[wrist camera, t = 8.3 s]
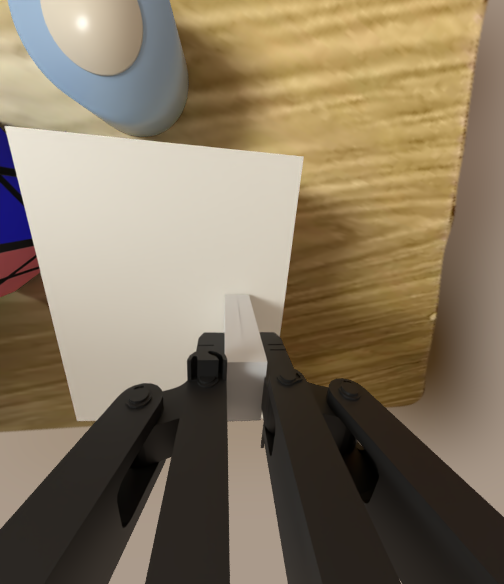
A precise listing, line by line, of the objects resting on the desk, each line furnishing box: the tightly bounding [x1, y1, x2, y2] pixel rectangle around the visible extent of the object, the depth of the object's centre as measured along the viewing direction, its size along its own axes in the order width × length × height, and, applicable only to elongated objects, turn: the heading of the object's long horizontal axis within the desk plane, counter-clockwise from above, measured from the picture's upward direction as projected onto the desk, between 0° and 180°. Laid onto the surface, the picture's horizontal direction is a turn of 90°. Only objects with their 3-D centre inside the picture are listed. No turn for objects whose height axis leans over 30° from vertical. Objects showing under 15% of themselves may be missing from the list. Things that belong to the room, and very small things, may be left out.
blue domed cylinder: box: [8, 0, 189, 137], centre depth 15 cm, size 8×8×6 cm
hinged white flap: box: [5, 126, 303, 421], centre depth 15 cm, size 14×18×1 cm
